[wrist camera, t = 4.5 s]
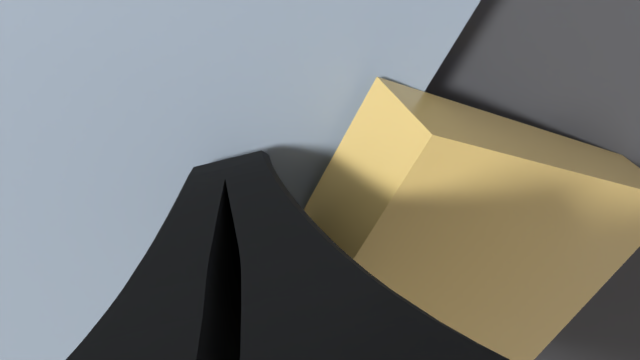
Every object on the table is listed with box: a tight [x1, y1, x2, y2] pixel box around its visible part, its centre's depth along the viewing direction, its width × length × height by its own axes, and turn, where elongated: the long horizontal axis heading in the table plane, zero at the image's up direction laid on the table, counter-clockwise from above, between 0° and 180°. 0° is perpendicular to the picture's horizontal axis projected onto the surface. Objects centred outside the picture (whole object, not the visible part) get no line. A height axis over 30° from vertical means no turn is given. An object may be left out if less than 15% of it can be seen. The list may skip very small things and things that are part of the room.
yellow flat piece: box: [304, 77, 640, 360], centre depth 12 cm, size 8×6×2 cm
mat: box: [424, 0, 640, 360], centre depth 16 cm, size 14×14×1 cm
